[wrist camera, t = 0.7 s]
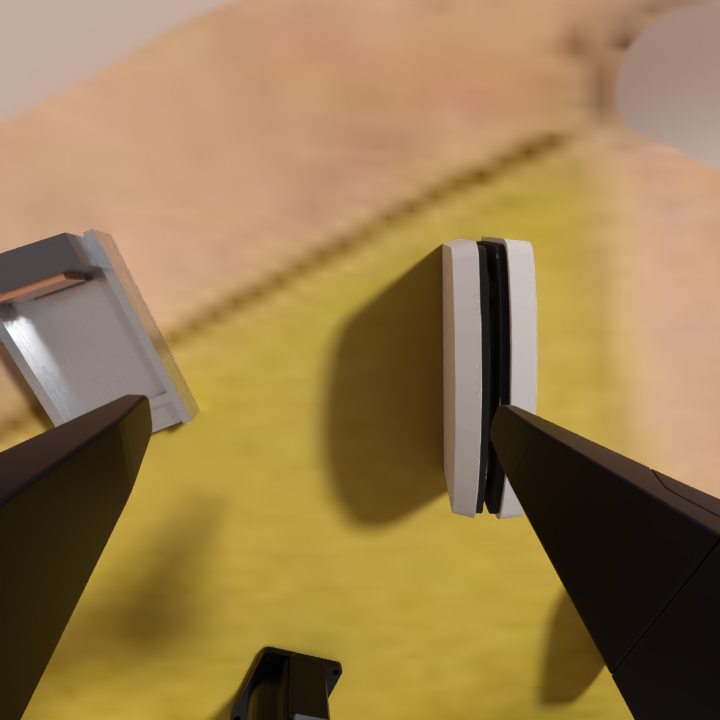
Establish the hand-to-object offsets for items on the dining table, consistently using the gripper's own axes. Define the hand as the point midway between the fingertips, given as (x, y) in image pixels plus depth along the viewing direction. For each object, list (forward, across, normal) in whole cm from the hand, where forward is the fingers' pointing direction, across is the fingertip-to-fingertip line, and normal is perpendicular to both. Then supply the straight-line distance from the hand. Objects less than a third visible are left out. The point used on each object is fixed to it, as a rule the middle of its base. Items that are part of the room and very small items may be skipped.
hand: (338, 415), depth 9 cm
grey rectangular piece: (+13, +12, +5) cm, 18 cm away
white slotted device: (+14, -10, +5) cm, 18 cm away
